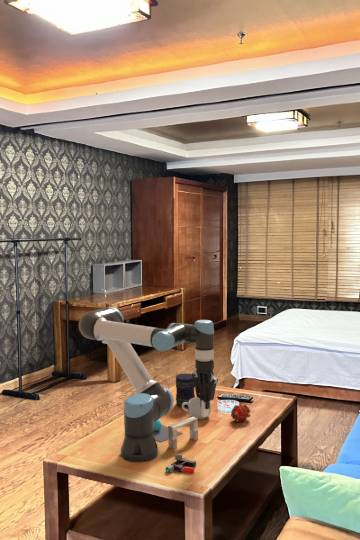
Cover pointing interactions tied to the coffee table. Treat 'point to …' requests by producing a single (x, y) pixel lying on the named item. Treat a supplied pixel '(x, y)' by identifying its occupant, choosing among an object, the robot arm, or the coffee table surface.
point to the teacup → (195, 408)
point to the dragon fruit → (240, 412)
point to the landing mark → (162, 434)
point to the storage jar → (184, 389)
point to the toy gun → (181, 465)
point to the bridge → (173, 428)
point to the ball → (157, 425)
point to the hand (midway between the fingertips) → (205, 415)
